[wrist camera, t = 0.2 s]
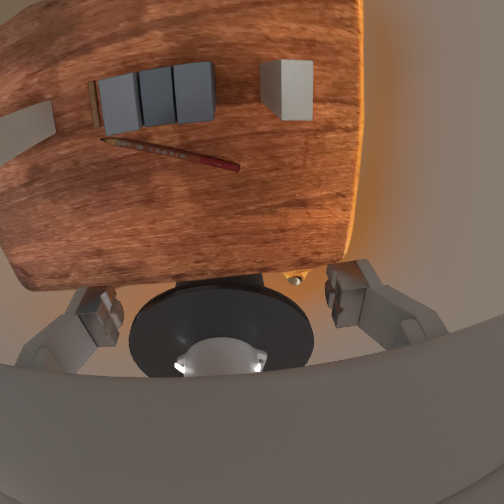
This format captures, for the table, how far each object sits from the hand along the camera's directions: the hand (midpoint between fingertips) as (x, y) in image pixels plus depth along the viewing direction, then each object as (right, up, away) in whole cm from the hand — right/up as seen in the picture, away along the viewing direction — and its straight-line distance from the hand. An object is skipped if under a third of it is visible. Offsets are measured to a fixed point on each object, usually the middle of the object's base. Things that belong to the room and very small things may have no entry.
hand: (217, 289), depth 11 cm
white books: (-24, +20, +19) cm, 37 cm away
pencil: (-9, +14, +25) cm, 30 cm away
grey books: (-8, +21, +20) cm, 30 cm away
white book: (+3, +22, +21) cm, 30 cm away
